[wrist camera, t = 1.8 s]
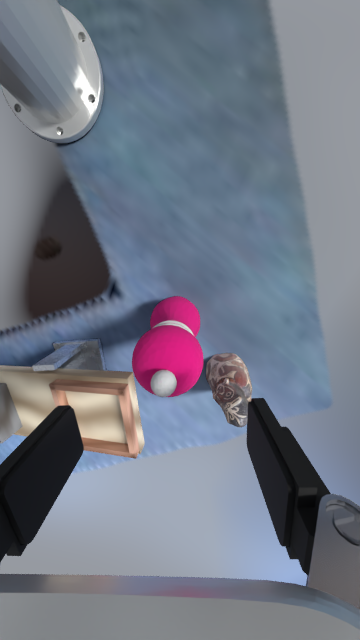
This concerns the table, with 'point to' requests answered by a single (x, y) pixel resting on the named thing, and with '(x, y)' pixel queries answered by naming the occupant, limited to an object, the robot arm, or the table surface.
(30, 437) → the robot arm
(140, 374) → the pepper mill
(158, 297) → the table surface
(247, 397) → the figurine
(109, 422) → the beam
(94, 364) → the fulcrum
